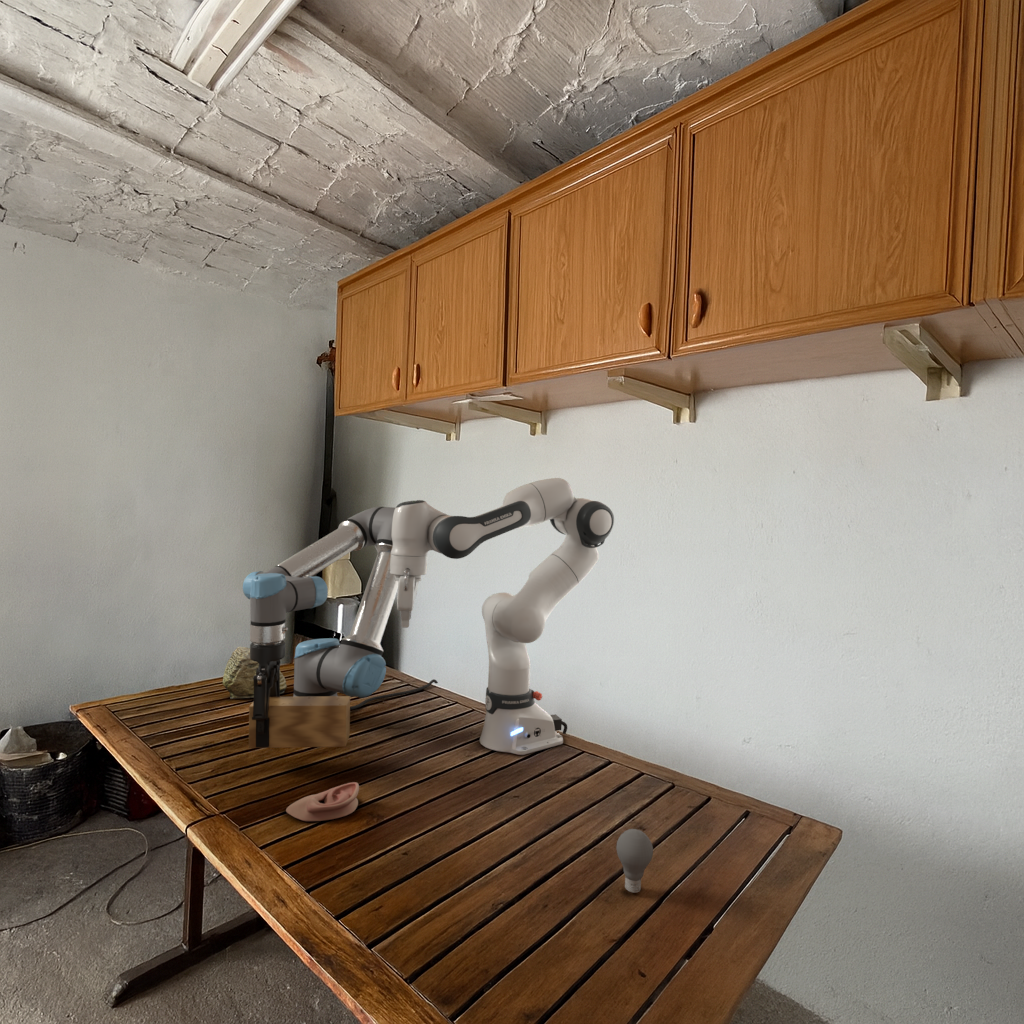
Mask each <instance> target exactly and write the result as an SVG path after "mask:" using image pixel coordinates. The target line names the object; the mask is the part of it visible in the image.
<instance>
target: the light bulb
mask: <svg viewBox="0 0 1024 1024" xmlns="http://www.w3.org/2000/svg"><path fill="white" fill-rule="evenodd" d="M615 849H616V854H617V857H618V859H619V861H620V863H621V865H622V867H623V873H624V874H623V875H624V876H625V878H624V888H625V890H627V891H628V892H630V893H634V894H635V893H639V892H640V891H641V889H642V887H641V886H642V879H643V877H644V875H645V871H646V868H647V867H648V866H649V864H650V863H651V861H652V859H653V855H654V847H653V843H652V841H651V838H649V836H648V835H647V834H646V833H645V832H643V831H642V830H641V829H636V828H629V829H627V830H625V831H623V832H622V833H621V834H620V835H619V837H618V839H617V841H616V847H615Z"/></svg>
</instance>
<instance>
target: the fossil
mask: <svg viewBox="0 0 1024 1024" xmlns="http://www.w3.org/2000/svg"><path fill="white" fill-rule="evenodd" d="M258 666H259V663H258V662H256V661H252V660H251V659H250V647H247V646H246V647H245V646H238V647H237V648H236V649H235V650H233V651H232V653H231V656H230V657H229V659H228V660H227V663H226V666H225V668H224V671H223V675H222V676H223V677H222V685H223V687H224V688H225V690H226V691H228V693H229V698H230V699H250V698H254V679H253V677H254V675H256V670H257V668H258ZM287 687H288V686H287V680H286V678H285V676H284V674H283V673H282V672H281V671H280V694H284V693H285V691H286V689H287Z"/></svg>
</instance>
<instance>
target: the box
mask: <svg viewBox="0 0 1024 1024" xmlns="http://www.w3.org/2000/svg"><path fill="white" fill-rule="evenodd" d="M253 702H254V700H253V701H252V702H251V704H250V705H248V749H270V748H271V749H272V748H275V749H276V748H277V749H278V748H328V747H329V748H330V747H331V748H332V747H333V748H334V747H338V748H339V747H346V746H347V744H348V742H349V739H350V736H351V735H350V734H351V733H350V732H351V710H350V707H351V696H348V695H338V696H307V697H293V696H280V697H270V699H269V710H268V718H269V747H256V720H252V717H253Z"/></svg>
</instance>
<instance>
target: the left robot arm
mask: <svg viewBox="0 0 1024 1024" xmlns="http://www.w3.org/2000/svg"><path fill="white" fill-rule="evenodd" d="M395 508H396V507H395V506H394V507H392V506H391V507H390V506H374V507H370V508H367V509H365V510H362V511H360V512H358V513H356V514H354V515H352V516H350V517H348V518H347V519H345V520H343V521H341V522H340V523H339V525H338V528H337V529H335V530H333V531H332V532H330V533H328V534H327V535H325V536H323V537H322V538H320V539H318V540H316V541H315V542H313V543H311V544H310V545H308V546H306V547H304V548H303V549H301V550H299V551H298V552H296V553H295V554H293V555H291V556H289V557H288V558H287V559H285V560H283V561H282V562H280V563H278V564H276V565H274V566H273V567H271V568H270V569H268V570H266V571H261V570H259V571H252V572H250V573H249V574H247V576H246V577H244V579H243V583H242V591H243V595H244V596H245V598H247V599H248V600H250V601H249V603H250V606H249V607H250V622H249V623H250V624H249V641H250V642H251V643H250V644H249V648H250V659H251V660H252V661H256V662H258V663H259V666H258V668H257V670H256V675H254V677H253V679H254V697H253V701H254V702H253V701H252V703H253V717H252V720H256V747H269V718H268V710H269V699H270V697H281V693H280V672H281V660H283V659H284V658H285V656H286V642H285V641H284V640H285V639H286V632H288V630H289V628H288V627H287V626H286V621H287V620H286V618H287V617H286V615H287V613H291V612H296V611H301V610H306V609H308V610H309V609H314V608H316V607H320V606H322V605H323V604H324V603H325V602H326V601H327V599H328V596H329V589H328V584H327V583H326V581H325V580H324V579H323V578H322V577H320V576H316V575H317V574H319V573H320V572H321V571H323V570H324V569H326V568H328V567H330V566H331V565H333V564H334V563H335V562H337V561H338V560H340V559H342V558H343V557H345V556H346V555H348V554H349V553H351V552H358V551H360V550H362V549H363V548H367V547H372V546H374V548H375V550H376V552H377V555H376V558H375V560H374V563H373V566H372V569H371V572H370V575H369V578H368V581H367V583H366V586H365V590H364V592H363V595H362V598H361V600H360V602H359V603H360V604H359V607H358V609H357V612H356V615H355V618H354V621H353V624H352V627H351V629H350V631H349V634H348V635H346V636H344V637H343V638H342V639H341V641H339V639H338V638H335V637H333V638H332V637H329V638H313V639H308V640H304V641H302V642H299V643H298V644H297V645H296V646H295V652H294V653H295V654H294V657H293V659H294V660H293V662H294V663H293V665H294V667H293V695H292V697H307V696H339V695H338V694H342V695H344V696H350V698H360V699H361V698H366V699H364V700H363V701H361V702H360V703H358V704H356V705H352V706H351V705H350V711H351V710H356V709H359V708H361V707H362V706H365V705H366V704H367V703H369V702H373V701H377V700H382V699H387V698H391V697H398V696H403V695H404V696H405V695H408V694H409V695H410V694H414V693H416V692H419V691H423V690H425V689H427V688H429V687H430V686H432V684H433V683H434V684H439V682H438V681H437V680H436V679H434V678H433V679H431V680H430V681H429V682H428V683H427V684H425V685H423V686H420V687H417V688H413V689H409V690H405V691H399V692H394V693H393V692H392V693H388V694H387V693H386V694H383V695H377V696H373V697H370V696H372V694H374V693H376V692H377V691H378V690H379V688H380V687H381V686H382V684H383V682H384V680H385V678H386V674H387V667H386V666H387V663H386V660H385V659H384V657H383V653H384V649H383V647H382V645H381V642H382V640H383V636H384V633H385V630H386V626H387V625H388V620H389V617H390V615H391V611H392V608H393V605H394V603H395V599H396V597H397V595H398V582H399V581H396V580H395V575H394V574H391V573H390V560H391V550H392V547H393V541H392V537H391V534H392V521H393V514H394V510H395ZM367 697H369V698H367Z"/></svg>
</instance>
